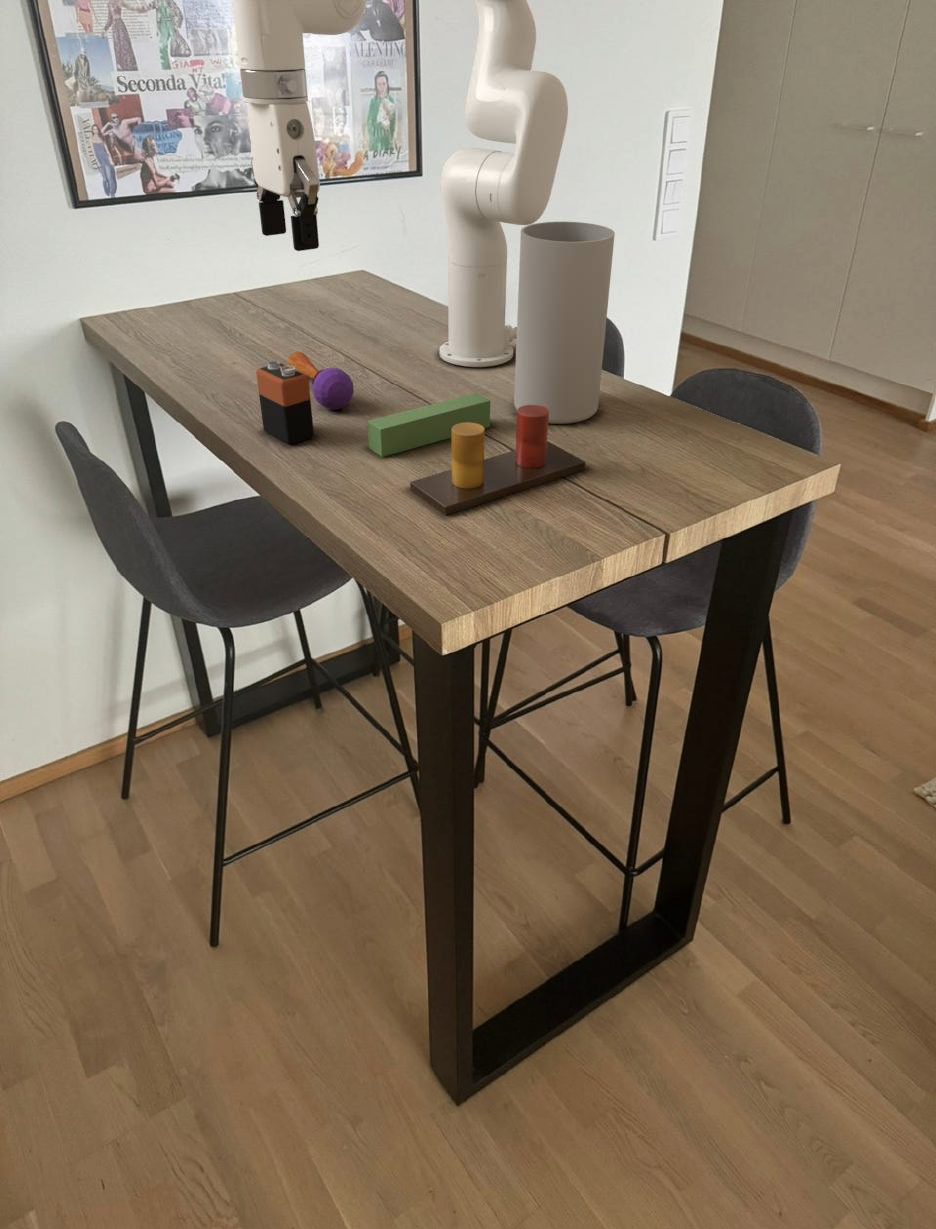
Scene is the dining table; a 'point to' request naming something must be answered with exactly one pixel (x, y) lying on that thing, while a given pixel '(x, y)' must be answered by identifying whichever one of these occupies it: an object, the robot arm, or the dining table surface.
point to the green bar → (425, 424)
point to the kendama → (325, 382)
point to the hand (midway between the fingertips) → (290, 241)
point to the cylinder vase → (562, 317)
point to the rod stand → (496, 464)
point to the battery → (285, 402)
